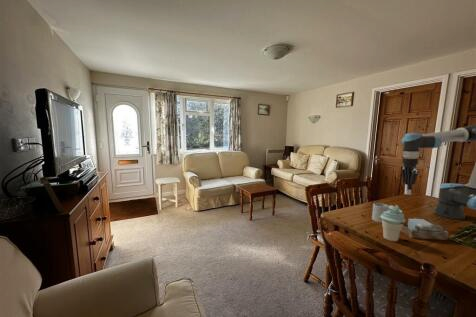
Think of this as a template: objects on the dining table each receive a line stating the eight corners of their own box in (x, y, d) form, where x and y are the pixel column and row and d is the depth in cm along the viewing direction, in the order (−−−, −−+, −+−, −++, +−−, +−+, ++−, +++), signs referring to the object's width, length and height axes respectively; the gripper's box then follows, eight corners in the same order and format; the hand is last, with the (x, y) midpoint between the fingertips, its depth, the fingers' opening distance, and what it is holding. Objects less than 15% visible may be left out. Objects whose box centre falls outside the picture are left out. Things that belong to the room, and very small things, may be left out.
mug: (384, 224, 129) (385, 207, 127) (369, 219, 136) (370, 204, 134) (391, 219, 136) (392, 204, 134) (377, 215, 143) (378, 200, 141)
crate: (421, 230, 121) (423, 219, 120) (433, 237, 113) (434, 225, 112) (407, 229, 122) (408, 218, 121) (417, 236, 114) (418, 224, 113)
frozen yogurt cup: (381, 231, 119) (384, 199, 116) (405, 239, 110) (409, 204, 108) (375, 237, 113) (378, 203, 110) (400, 246, 104) (404, 209, 102)
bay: (416, 221, 132) (418, 210, 131) (448, 240, 109) (450, 227, 108) (387, 220, 134) (388, 209, 133) (412, 238, 111) (413, 225, 110)
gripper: (397, 156, 133) (394, 191, 135) (411, 159, 120) (408, 197, 123) (409, 156, 132) (407, 191, 134) (425, 159, 119) (422, 197, 122)
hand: (407, 194), depth 129 cm, fingers closed
